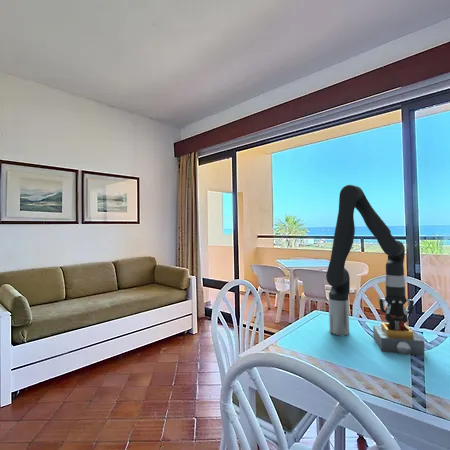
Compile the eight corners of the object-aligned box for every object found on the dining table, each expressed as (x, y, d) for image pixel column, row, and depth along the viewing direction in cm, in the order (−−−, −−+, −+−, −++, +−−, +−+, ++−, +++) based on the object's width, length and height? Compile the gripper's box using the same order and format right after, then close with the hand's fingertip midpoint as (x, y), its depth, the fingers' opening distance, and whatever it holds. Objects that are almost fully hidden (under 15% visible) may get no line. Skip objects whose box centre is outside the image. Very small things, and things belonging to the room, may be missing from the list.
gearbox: (382, 353, 121) (382, 333, 121) (373, 337, 139) (373, 320, 139) (426, 357, 117) (425, 336, 117) (411, 340, 134) (410, 322, 134)
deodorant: (400, 333, 131) (399, 300, 131) (407, 338, 125) (406, 304, 126) (386, 333, 132) (385, 300, 132) (393, 338, 126) (391, 304, 126)
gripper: (379, 285, 127) (380, 323, 127) (416, 287, 123) (417, 326, 123) (375, 282, 135) (376, 318, 134) (410, 283, 131) (411, 320, 130)
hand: (396, 322), depth 129 cm, fingers closed on deodorant, 6 cm apart
